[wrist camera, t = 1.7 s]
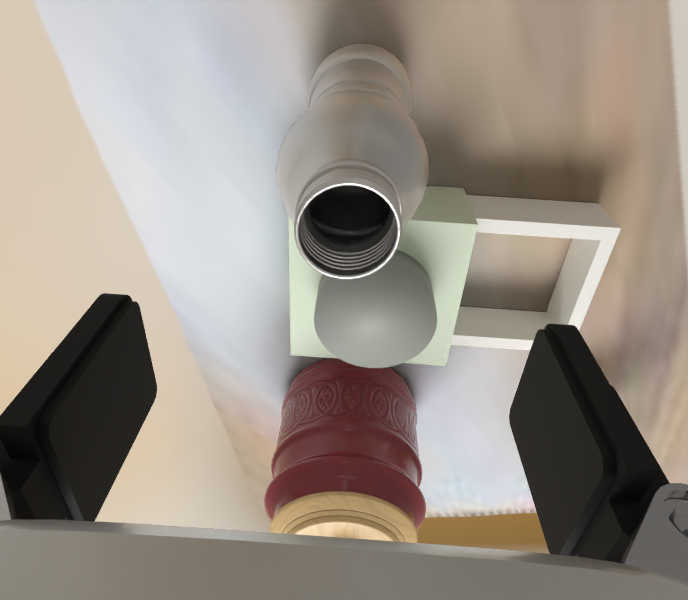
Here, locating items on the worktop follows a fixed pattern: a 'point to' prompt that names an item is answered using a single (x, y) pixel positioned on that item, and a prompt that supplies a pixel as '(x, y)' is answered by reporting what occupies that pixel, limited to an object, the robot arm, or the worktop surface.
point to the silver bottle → (353, 163)
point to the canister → (347, 456)
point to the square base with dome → (444, 283)
